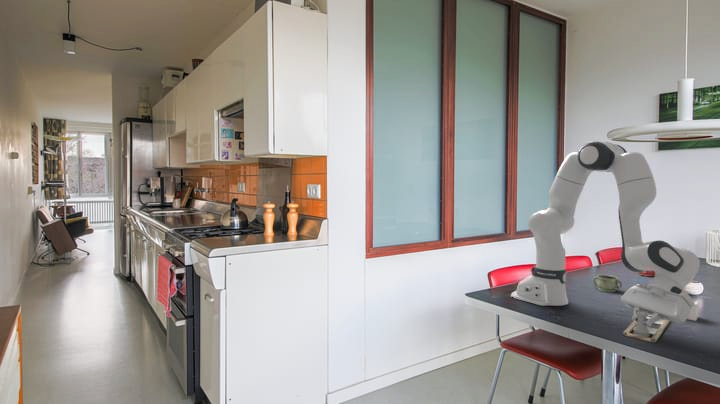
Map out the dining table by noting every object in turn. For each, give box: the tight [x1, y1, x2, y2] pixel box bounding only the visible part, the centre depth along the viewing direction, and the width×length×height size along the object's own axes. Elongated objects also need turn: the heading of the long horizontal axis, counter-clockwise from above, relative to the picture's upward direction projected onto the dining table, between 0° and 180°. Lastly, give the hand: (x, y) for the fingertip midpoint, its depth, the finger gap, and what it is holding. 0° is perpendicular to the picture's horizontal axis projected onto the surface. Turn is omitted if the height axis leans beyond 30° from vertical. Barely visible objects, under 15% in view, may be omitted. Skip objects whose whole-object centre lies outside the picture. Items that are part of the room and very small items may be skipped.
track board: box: [622, 314, 671, 343], centre depth 142 cm, size 9×28×1 cm, turn 135°
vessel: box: [592, 274, 623, 293], centre depth 192 cm, size 12×9×6 cm
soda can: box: [637, 270, 656, 277], centre depth 221 cm, size 8×8×15 cm
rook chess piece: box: [632, 310, 651, 338], centre depth 135 cm, size 4×4×8 cm
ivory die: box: [686, 299, 700, 322], centre depth 154 cm, size 6×6×6 cm
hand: (640, 322), depth 135 cm, fingers closed on rook chess piece, 3 cm apart
